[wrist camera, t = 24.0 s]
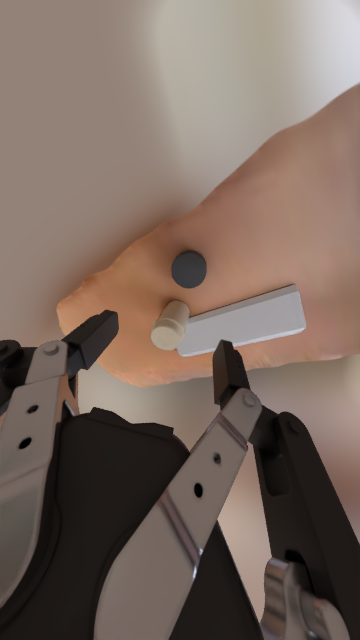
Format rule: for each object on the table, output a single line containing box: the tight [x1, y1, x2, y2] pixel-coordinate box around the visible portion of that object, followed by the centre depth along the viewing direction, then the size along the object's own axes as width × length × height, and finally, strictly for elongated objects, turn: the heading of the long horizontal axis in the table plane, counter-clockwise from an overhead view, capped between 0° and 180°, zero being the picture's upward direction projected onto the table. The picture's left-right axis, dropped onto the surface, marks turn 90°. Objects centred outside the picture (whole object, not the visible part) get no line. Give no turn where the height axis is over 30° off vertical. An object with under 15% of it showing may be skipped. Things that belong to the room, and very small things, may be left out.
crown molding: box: [177, 284, 306, 357], centre depth 34 cm, size 29×12×4 cm, turn 117°
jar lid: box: [171, 250, 206, 288], centre depth 28 cm, size 7×7×2 cm
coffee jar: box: [151, 300, 190, 351], centre depth 31 cm, size 6×6×11 cm
